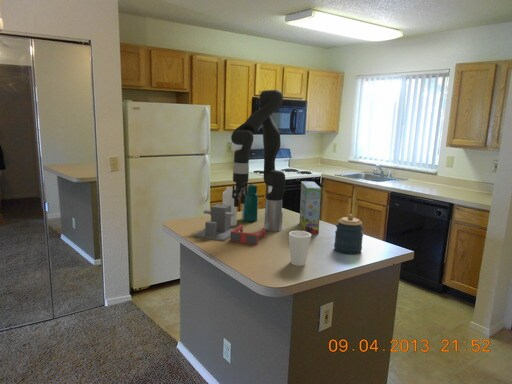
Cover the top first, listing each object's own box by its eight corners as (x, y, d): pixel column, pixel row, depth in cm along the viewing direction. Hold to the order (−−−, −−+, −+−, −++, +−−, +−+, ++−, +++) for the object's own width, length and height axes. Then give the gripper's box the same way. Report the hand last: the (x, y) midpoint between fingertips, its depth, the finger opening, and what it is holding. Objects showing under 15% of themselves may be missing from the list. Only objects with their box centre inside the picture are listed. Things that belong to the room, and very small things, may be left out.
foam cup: (294, 268, 157) (296, 238, 154) (283, 260, 165) (284, 231, 162) (313, 265, 161) (315, 235, 159) (301, 258, 169) (303, 229, 167)
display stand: (224, 241, 188) (224, 213, 186) (193, 236, 194) (193, 209, 191) (238, 231, 206) (239, 206, 203) (210, 227, 211) (210, 202, 209)
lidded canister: (328, 248, 183) (330, 213, 180) (345, 244, 191) (348, 210, 188) (349, 256, 173) (353, 219, 170) (367, 251, 181) (370, 215, 178)
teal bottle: (241, 218, 233) (242, 183, 229) (254, 218, 235) (256, 183, 231) (244, 222, 224) (245, 186, 220) (258, 222, 226) (260, 186, 222)
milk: (229, 227, 214) (229, 188, 209) (221, 224, 218) (222, 186, 213) (236, 225, 218) (237, 187, 214) (229, 223, 222) (230, 185, 218)
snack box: (297, 223, 228) (300, 180, 223) (312, 223, 228) (315, 181, 223) (303, 233, 206) (306, 187, 202) (319, 234, 207) (322, 187, 202)
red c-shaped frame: (256, 245, 184) (256, 235, 183) (229, 241, 189) (230, 231, 188) (265, 237, 197) (265, 227, 196) (240, 233, 202) (240, 224, 201)
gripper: (243, 174, 175) (241, 208, 178) (253, 171, 188) (251, 203, 191) (227, 172, 177) (226, 207, 180) (238, 170, 190) (237, 201, 193)
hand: (239, 205), depth 185 cm, fingers open, 8 cm apart
